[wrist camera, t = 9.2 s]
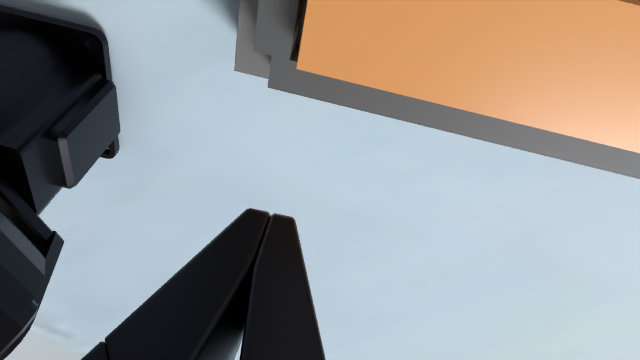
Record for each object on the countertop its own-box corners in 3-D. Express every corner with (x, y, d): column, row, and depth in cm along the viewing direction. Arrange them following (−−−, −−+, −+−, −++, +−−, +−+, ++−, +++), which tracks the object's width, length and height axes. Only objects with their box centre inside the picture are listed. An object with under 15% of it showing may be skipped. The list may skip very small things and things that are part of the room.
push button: (308, 40, 17) (296, 69, 15) (331, -91, 14) (319, -73, 13) (632, 120, 17) (653, 156, 15) (716, 2, 14) (751, 32, 13)
